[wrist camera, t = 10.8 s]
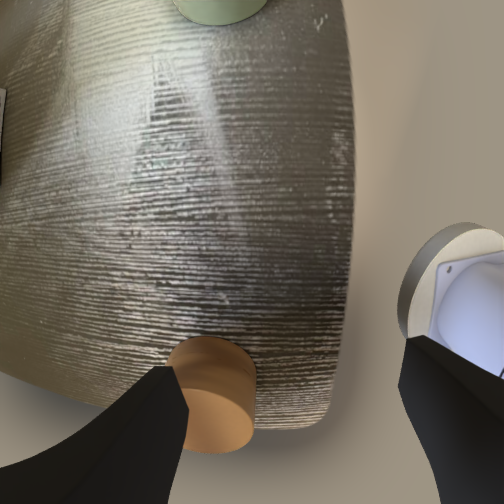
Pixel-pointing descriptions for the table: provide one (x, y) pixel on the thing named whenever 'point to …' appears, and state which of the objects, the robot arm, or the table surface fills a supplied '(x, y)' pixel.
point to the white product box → (1, 109)
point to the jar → (218, 10)
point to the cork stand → (216, 393)
